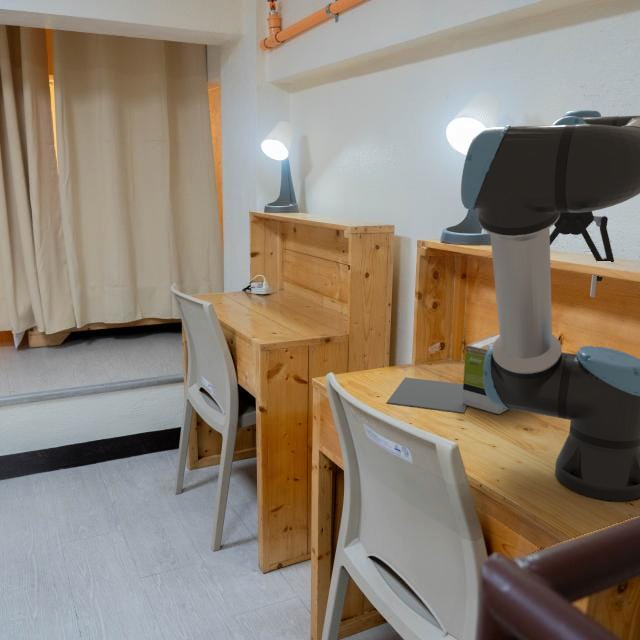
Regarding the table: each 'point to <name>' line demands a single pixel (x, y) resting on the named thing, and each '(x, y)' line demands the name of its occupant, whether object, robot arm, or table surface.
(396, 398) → the desk pad
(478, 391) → the tea box
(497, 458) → the table surface
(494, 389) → the robot arm
